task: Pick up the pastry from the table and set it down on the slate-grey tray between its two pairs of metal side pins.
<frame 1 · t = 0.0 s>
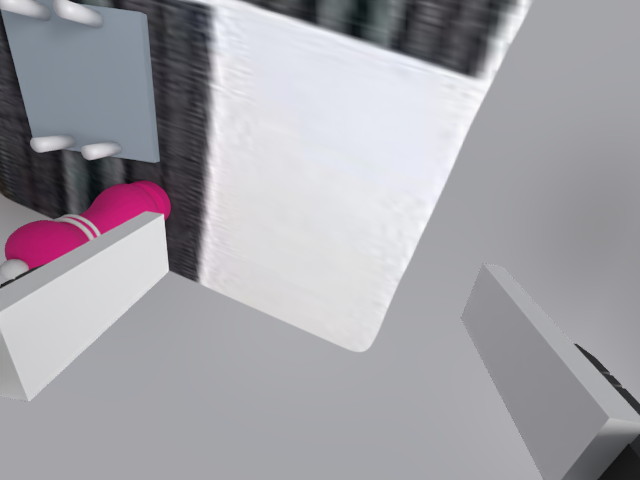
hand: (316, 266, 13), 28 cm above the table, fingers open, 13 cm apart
pepper mill: (150, 201, 43), on the table
tray: (89, 85, 37), on the table
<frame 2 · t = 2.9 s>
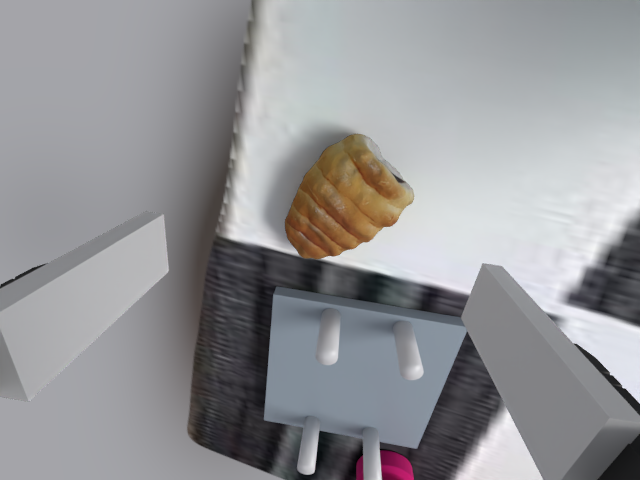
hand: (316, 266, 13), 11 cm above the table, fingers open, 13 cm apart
pepper mill: (383, 464, 35), on the table
tray: (352, 369, 30), on the table
pastry: (348, 196, 23), on the table
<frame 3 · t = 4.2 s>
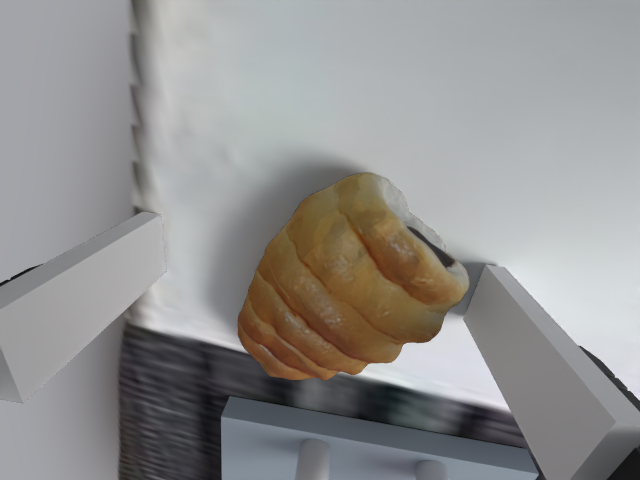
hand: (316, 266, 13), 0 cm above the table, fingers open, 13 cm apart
pastry: (348, 270, 13), on the table
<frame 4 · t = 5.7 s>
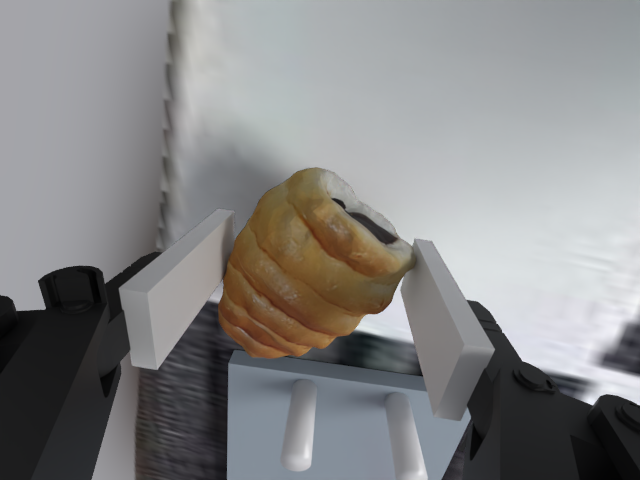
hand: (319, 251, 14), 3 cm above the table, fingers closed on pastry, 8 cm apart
tray: (335, 443, 24), on the table
pastry: (314, 258, 15), point 2 cm above the table, touching gripper
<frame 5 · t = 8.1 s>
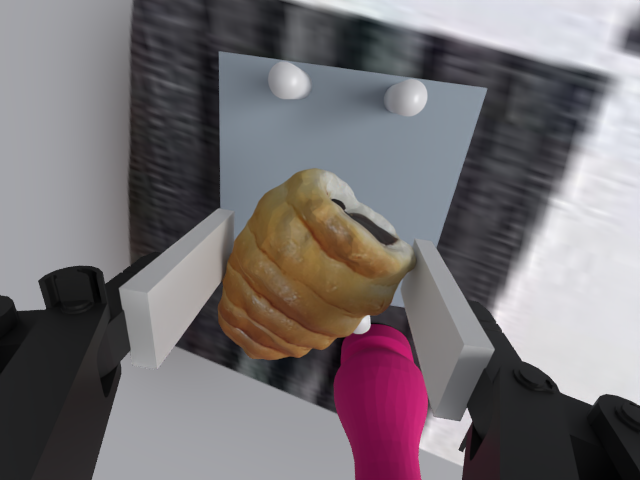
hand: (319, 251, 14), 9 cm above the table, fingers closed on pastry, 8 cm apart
pepper mill: (375, 348, 28), on the table
tray: (332, 194, 23), on the table
pastry: (314, 258, 15), point 9 cm above the table, touching gripper
when the fingers open (2 cm above the table, at t = 10.2 s): pastry stays where it is, resting on tray.
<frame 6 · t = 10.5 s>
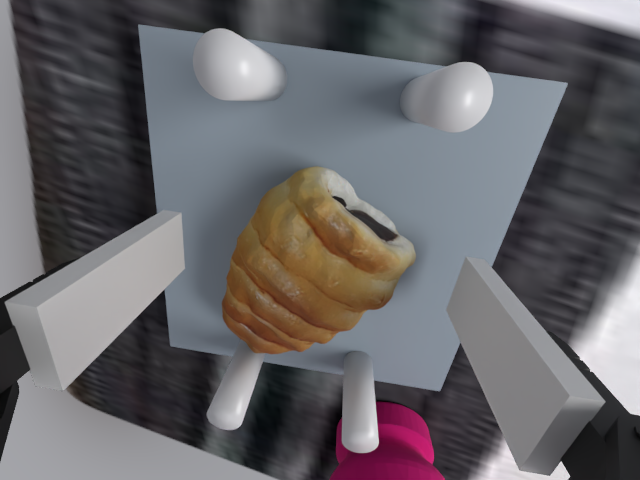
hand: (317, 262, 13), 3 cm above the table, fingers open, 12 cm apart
pepper mill: (381, 428, 22), on the table
tray: (322, 236, 16), on the table
pastry: (315, 255, 15), point 1 cm above the table, touching tray
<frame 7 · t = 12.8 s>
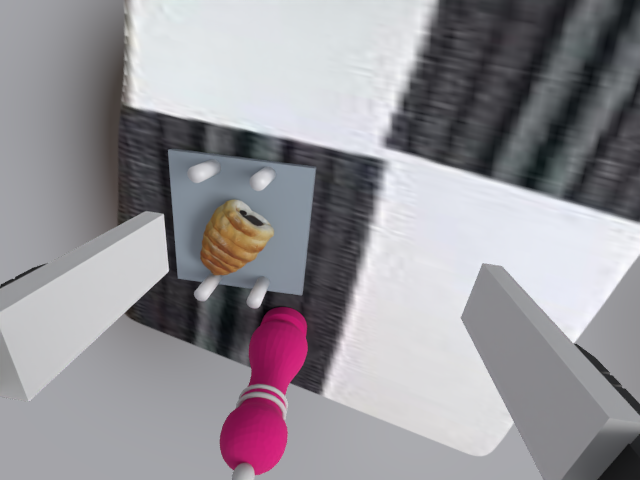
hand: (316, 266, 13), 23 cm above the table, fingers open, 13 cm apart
pepper mill: (284, 324, 43), on the table
tray: (243, 225, 37), on the table
pastry: (239, 234, 37), point 1 cm above the table, touching tray
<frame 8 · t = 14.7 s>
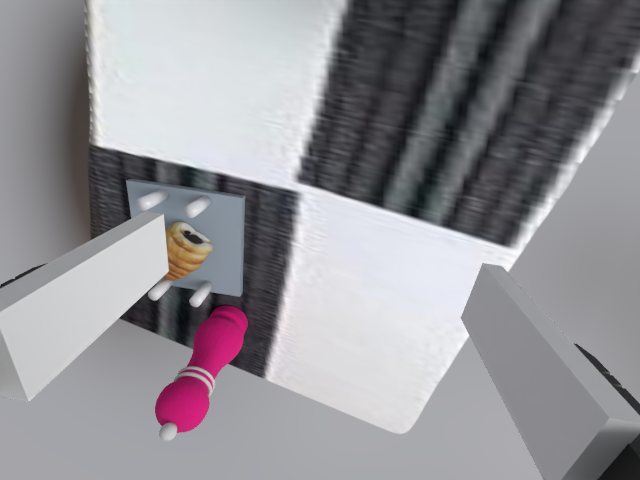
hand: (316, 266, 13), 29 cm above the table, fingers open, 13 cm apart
pepper mill: (230, 319, 52), on the table
tray: (190, 239, 46), on the table
pastry: (187, 247, 45), point 1 cm above the table, touching tray
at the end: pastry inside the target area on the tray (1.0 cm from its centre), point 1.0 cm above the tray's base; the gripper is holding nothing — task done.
